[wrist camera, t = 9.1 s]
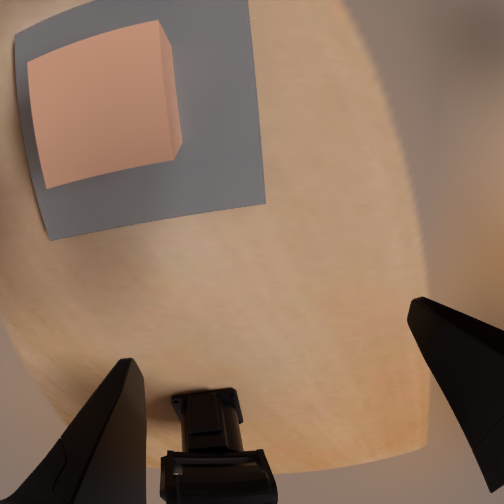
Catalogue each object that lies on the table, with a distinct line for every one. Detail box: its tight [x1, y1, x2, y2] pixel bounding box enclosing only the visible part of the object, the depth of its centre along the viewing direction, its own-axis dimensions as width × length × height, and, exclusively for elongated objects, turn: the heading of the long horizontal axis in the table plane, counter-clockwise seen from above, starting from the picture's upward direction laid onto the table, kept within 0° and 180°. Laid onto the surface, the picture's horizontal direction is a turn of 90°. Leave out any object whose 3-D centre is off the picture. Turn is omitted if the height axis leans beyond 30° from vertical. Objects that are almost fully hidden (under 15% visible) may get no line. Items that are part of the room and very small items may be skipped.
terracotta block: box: [27, 20, 182, 189], centre depth 11 cm, size 6×6×6 cm
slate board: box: [15, 0, 266, 241], centre depth 14 cm, size 14×14×1 cm
